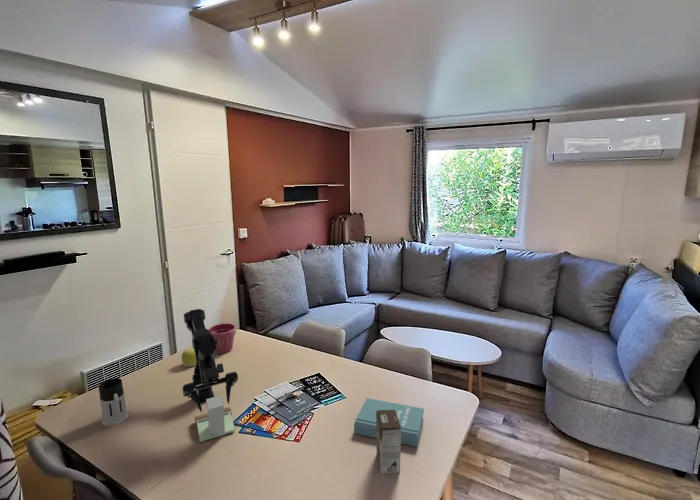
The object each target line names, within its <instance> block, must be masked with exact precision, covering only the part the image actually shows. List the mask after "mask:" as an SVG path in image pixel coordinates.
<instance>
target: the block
mask: <svg viewBox="0 0 700 500" xmlns="http://www.w3.org/2000/svg"><path fill="white" fill-rule="evenodd" d="M205 402H206V404H205V405H206V413H207V419H208V429H209V433H210V437H213V436H216V435H219V434H222V433H225V424H224V408H225V407H224V401H223V398H222V395H217V396H214V397H213V398H209V399H206V401H205Z"/></svg>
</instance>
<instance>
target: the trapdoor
mask: <svg viewBox="0 0 700 500" xmlns="http://www.w3.org/2000/svg"><path fill="white" fill-rule="evenodd" d="M231 412H232V411H231ZM231 412H230V411H229V412H225V413H224V424H225V433H222V434H219V435H216V436H213V437H210V433H209V429H208V419H207V418H204V419H201V420H197V427H198V428H197V432H198V439H199V443H202V442H206V441H209V440H212V439H214V438H218V437H222V436H224V435H228V434H230V433H234V432H236V429H235V424H234V420H233V415H232V416H231Z"/></svg>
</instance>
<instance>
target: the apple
mask: <svg viewBox="0 0 700 500" xmlns="http://www.w3.org/2000/svg"><path fill="white" fill-rule="evenodd" d="M181 361H182V363H183V365H184V366H185V367H187V368H189V367H194V366H196V358H195V351H194V349H193V348H191V349H185V350H184V351H183V352H182V354H181Z"/></svg>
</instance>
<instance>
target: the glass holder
mask: <svg viewBox="0 0 700 500" xmlns="http://www.w3.org/2000/svg"><path fill="white" fill-rule="evenodd" d="M98 392H99V401H100V402H99V403H100V409H101V414H102V415H101V416H102V421H101V423H102V426H106V427H111V426H110V425H112V426H116V425H118V423H119V424H120V423H122V421H123V422H124V421H126V420H127V419H126V418H128V417H129V413H128V410H127V406H126V398H125V397H126V396H125V391H124V387H123V380H122V379H121V378H117V377H114V378H109V379H106V380H105V381H102V382H101V383H99V384H98ZM125 419H126V420H125ZM115 424H116V425H115Z"/></svg>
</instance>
